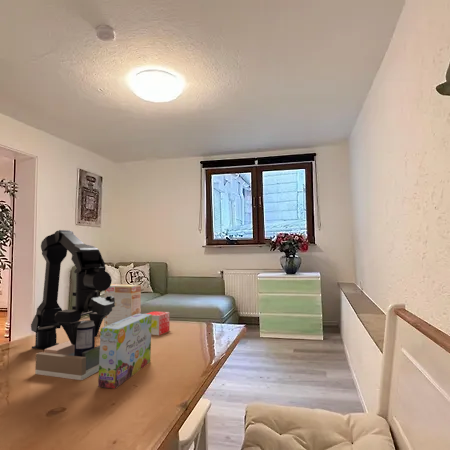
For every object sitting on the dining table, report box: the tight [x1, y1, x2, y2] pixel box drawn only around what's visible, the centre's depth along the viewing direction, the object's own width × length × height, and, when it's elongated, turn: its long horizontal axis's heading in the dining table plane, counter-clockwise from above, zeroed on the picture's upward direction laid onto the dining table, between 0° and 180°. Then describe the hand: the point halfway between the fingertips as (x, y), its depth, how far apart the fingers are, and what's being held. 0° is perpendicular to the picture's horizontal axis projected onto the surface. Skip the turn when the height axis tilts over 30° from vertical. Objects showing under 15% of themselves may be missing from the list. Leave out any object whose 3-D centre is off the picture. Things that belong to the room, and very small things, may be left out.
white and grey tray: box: [35, 351, 99, 381], centre depth 102 cm, size 16×18×6 cm
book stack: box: [43, 340, 74, 356], centre depth 103 cm, size 4×13×5 cm, turn 162°
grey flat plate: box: [82, 344, 100, 370], centre depth 100 cm, size 1×12×5 cm, turn 162°
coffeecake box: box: [103, 283, 142, 327], centre depth 149 cm, size 15×7×20 cm, turn 66°
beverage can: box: [74, 319, 96, 357], centre depth 102 cm, size 6×6×12 cm
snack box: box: [97, 313, 152, 390], centre depth 96 cm, size 21×6×15 cm, turn 168°
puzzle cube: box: [146, 310, 171, 336], centre depth 143 cm, size 8×8×8 cm
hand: (84, 340), depth 102 cm, fingers open, 9 cm apart
